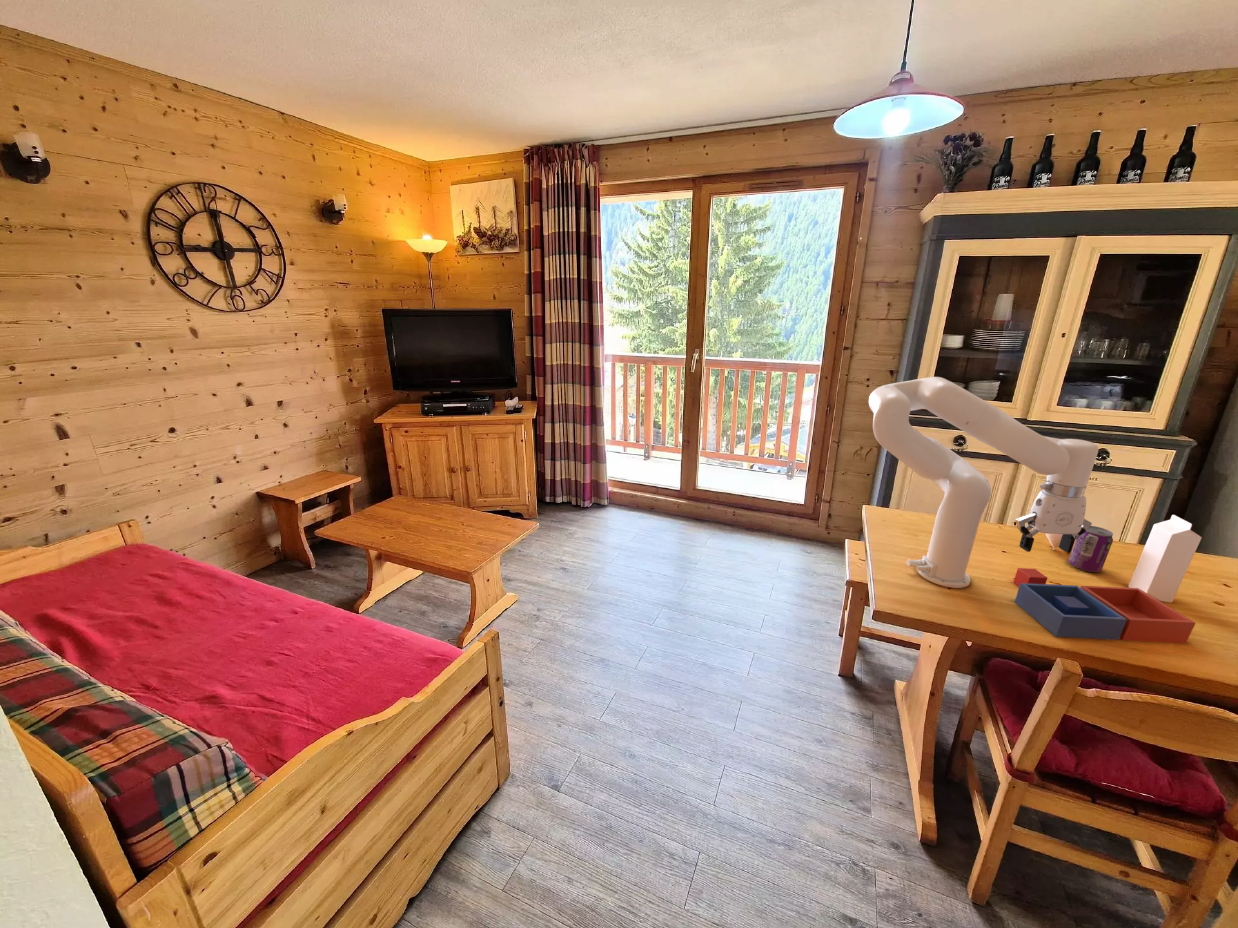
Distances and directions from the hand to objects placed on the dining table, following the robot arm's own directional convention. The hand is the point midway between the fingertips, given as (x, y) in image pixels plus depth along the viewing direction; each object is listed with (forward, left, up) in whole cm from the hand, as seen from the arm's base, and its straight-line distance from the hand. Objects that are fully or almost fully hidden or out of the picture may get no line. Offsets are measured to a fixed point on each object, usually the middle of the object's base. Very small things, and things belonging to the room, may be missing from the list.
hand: (1044, 549), depth 126 cm
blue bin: (-2, -13, -12) cm, 18 cm away
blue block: (-2, -13, -11) cm, 17 cm away
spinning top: (+23, +23, -12) cm, 35 cm away
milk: (+30, 0, -12) cm, 32 cm away
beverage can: (+24, +13, -12) cm, 30 cm away
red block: (0, +1, -12) cm, 12 cm away
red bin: (+13, -13, -12) cm, 22 cm away
